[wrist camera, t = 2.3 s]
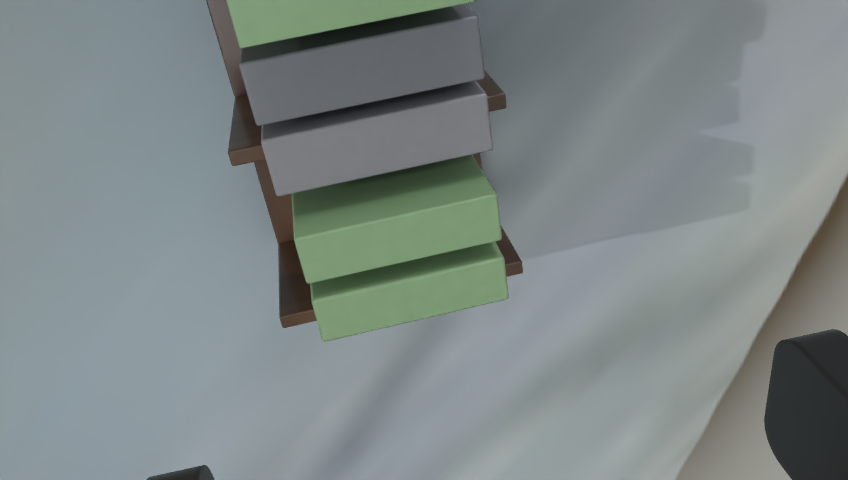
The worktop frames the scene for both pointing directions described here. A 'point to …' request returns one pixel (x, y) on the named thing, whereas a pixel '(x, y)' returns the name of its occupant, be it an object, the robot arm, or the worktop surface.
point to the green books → (400, 246)
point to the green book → (316, 16)
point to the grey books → (369, 98)
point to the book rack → (249, 149)
